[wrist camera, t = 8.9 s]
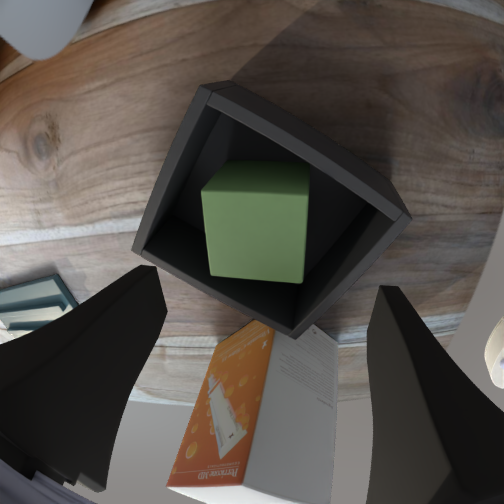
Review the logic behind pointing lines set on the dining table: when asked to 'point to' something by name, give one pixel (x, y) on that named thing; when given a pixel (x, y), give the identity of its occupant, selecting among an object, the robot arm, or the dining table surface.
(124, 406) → the robot arm
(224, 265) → the block
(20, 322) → the drainboard
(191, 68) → the dining table surface
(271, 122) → the dark grey open tray
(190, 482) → the small box
